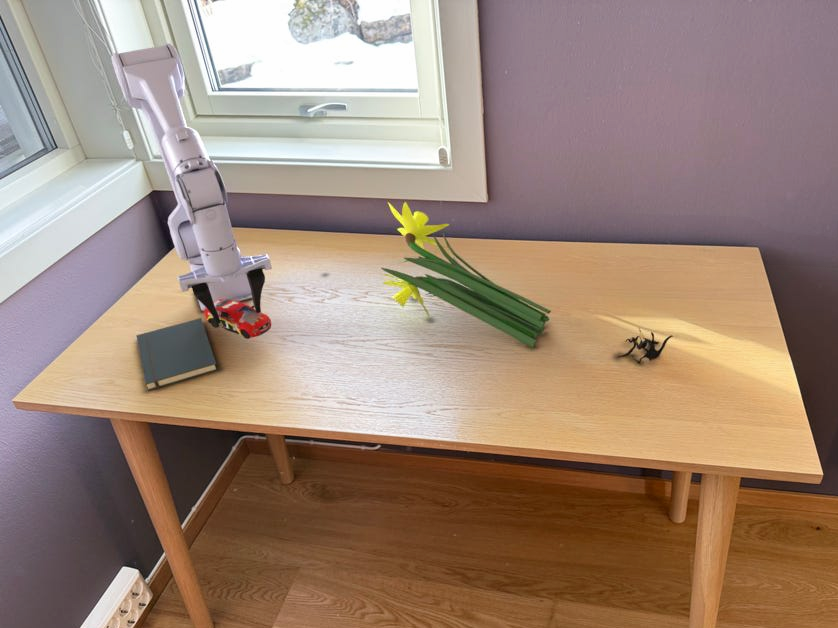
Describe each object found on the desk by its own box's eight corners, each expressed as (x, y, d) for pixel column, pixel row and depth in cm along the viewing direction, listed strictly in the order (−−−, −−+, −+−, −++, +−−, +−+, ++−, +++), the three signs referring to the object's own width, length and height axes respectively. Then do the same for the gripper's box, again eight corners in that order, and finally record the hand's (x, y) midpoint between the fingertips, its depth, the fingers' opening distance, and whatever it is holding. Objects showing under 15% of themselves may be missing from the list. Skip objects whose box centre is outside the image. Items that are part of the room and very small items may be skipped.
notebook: (203, 324, 136) (201, 317, 135) (218, 370, 124) (216, 363, 124) (138, 342, 132) (136, 335, 132) (148, 391, 121) (145, 384, 120)
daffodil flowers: (508, 377, 120) (333, 278, 129) (533, 369, 134) (374, 280, 143) (555, 281, 116) (372, 186, 126) (577, 283, 130) (410, 197, 139)
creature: (608, 357, 123) (638, 374, 117) (605, 327, 121) (635, 342, 114) (647, 343, 126) (679, 358, 119) (645, 313, 124) (677, 326, 117)
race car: (278, 328, 130) (273, 308, 127) (255, 344, 126) (249, 323, 124) (226, 309, 136) (221, 289, 134) (202, 323, 132) (196, 303, 130)
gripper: (173, 265, 115) (197, 339, 123) (267, 242, 120) (285, 314, 128) (167, 246, 121) (191, 318, 129) (258, 224, 125) (275, 295, 133)
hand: (237, 315), depth 129 cm, fingers closed on race car, 6 cm apart
